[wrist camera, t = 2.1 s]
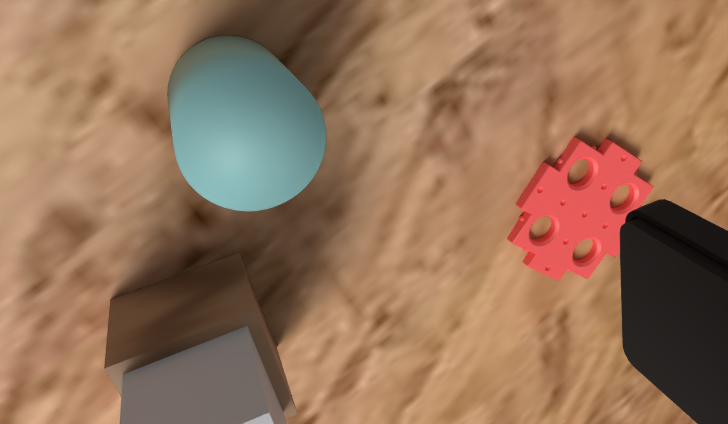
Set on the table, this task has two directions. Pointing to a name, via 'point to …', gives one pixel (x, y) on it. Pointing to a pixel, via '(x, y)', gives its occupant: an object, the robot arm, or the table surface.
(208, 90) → the teal cylinder
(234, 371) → the grey top block
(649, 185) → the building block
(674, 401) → the robot arm
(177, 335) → the walnut base block
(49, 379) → the table surface
